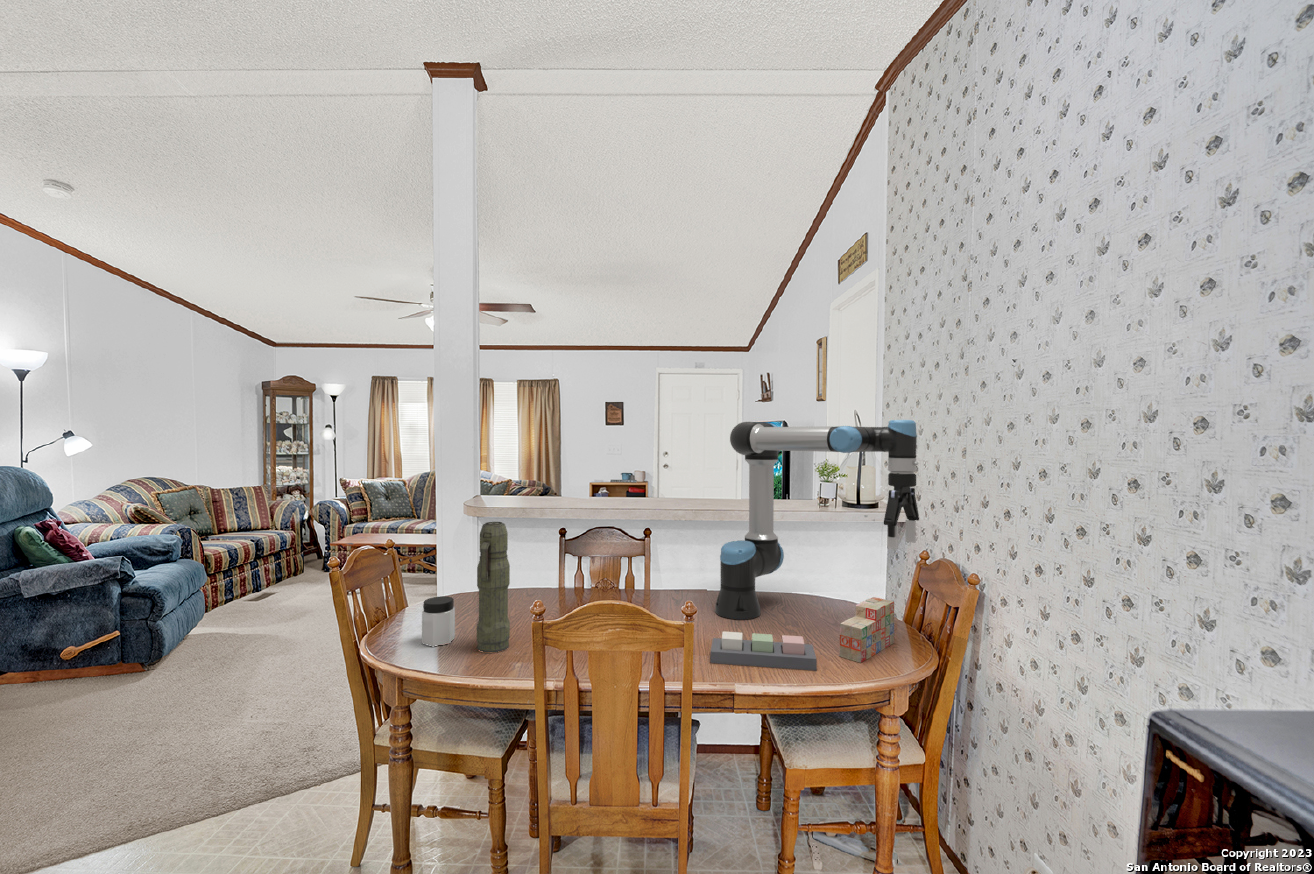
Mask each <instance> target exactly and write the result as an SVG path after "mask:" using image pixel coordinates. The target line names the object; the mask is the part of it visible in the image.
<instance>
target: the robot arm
mask: <svg viewBox="0 0 1314 874" xmlns="http://www.w3.org/2000/svg"><path fill="white" fill-rule="evenodd" d="M917 437H918V435H917V423H916V421H914V420H913V419H890V420H889V421H888V425H887V426H850V425H840V426H778V425H776V424H774V423H772V422H767V421H743V422H740V423H738V424H737V425H735V426H734V427H733V428H732V430H731V431H730V433H729V443H730V445H731V447H732V449H733V450H734V452H736V453H738V454H739V455H742V456H744V461H745V462H747V464H748V467H749V468H748V470H749V471H748V473H749V474H748V476H749V477H748V506H749V507H748V532H747V533H746V534H745V535H744V540H736V541H735V540H733V541H728V542H726V543H724V544H723V545H722V546H721V548H720V555H719V559H720V560H719V561H720V587H719V589H720V590H719V593H718V596H717V599H716V602H715V606H714V607H715V608H714V610H715V614H716V615H717V616H720V617H722V618H724V619H725V618H726V619H729V620H743V621H744V620H752V619H756V618H758V617H760V615H761V605H760V602H759V598H758V595H757V593H756V578H758V577H761V576H765V575H769V574H772V573H774V572H775V571H777V570H778V569H780V567H781V566H782V565H783V562H784V559H785V558H784V557H785V556H784V554H785V553H784V549H783V547H782V546H781V544H780V542H779V541H778V540H779V537H778V535H777V534H776V533H775V531H774V500H775V499H774V498H775V497H774V495H775V494H774V482H775V481H774V480H775V479H774V476H775V472H774V471H775V470H774V469H775V464H776V463H777V462H778V461H779V453H780V452H781V451H782V452H785V451H786V452H787V451H790V452H826V453H829V452H831V453H832V452H833V453H842V454H850V453H865V452H868V453H870V452H875V453H877V452H878V453H881V452H883V453H888V459H887V460H888V461H887V465H888V466H887V470H888V472H889V473H888V475H887V477H888V478H887V479H888V483H887V484H888V486H890V487H893V490H888V497H887V498H888V499H887V502H886V503H887V504H886V508H885V513H884V518H883V525H884V526H887V527H886V529H887V530H886V531H887V533H886V535H887V537H886V538H887V539H886V540H887V541H886V543H887V544H886V545H887V547H886V548H887V549H891V550H898V549H899V526H898V525H897V524H898V521H899V518H900V515H901V511H902V509H903V511H904V513H905V517H906V519H905V542H906V543H913V544H915V543H916V538H917V533H916V531H917V527H916V526H917V525H916V523H917V522H918V521H920V514H919V510H918V508H919V507H918V503H917V498H916V488H915V487H916V486H917V474H916V473H915V472H916V471H917V466H918V464H919V462H918V461H917V444H918V443H917V441H918V439H917Z"/></svg>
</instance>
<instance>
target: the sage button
mask: <svg viewBox="0 0 1314 874" xmlns="http://www.w3.org/2000/svg"><path fill="white" fill-rule="evenodd" d="M751 640H752V652H767V653H773V642H774V639H773V634H770V633H768V634H767V633H757V632H756V633H754V632H753V633H751Z"/></svg>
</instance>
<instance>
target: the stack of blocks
mask: <svg viewBox="0 0 1314 874" xmlns="http://www.w3.org/2000/svg"><path fill="white" fill-rule="evenodd" d="M854 611H855V614H854V616H853V617H851V618H848V619H846V620H844V621H842V622H840V625H839V627H840V628H839V629H840V631H839V633H840V634H839V657H841V658H843V659H847V660H850V661H854V662H857V663H860V664H861V663H863V662H865V661H867V660H868V659H870V658H872V657H873V656H875V655H877V654H878V653H880V652H881V651H883V650H884V649H887V648H888V647H889V646H891V645H893V644H894V643H895V601H894V600H890V599H885V598H880V597H876V596H875V597H874V596H873V597H871V598H867V599H865V600H863V601H862V602H860V603H857V604H855V609H854ZM879 651H880V652H879Z"/></svg>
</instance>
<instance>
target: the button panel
mask: <svg viewBox="0 0 1314 874" xmlns="http://www.w3.org/2000/svg"><path fill="white" fill-rule="evenodd" d="M710 646H711V647H710V653H709V654H710V656H709V657H710V662H709V663H710V664H723V665H733V666H735V665H736V666H748V667H762V668H772V669H773V668H775V669H776V668H777V669H788V670H790V669H791V670H803V671H814V672H815V671H816V672H817V669H818V667H817V656H816V652H815V650H814V649H815V648H814V646H813V643H810V644H809V643H804V655H796V654H782V641H773V653H767V652H752V639H742V651H738V650H723V649H722V637H721V638H720V637H712V641H711V645H710Z"/></svg>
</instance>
